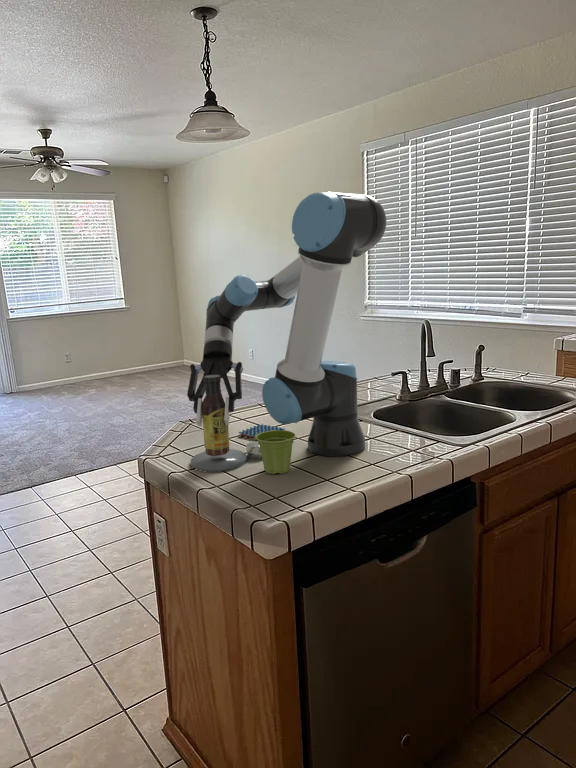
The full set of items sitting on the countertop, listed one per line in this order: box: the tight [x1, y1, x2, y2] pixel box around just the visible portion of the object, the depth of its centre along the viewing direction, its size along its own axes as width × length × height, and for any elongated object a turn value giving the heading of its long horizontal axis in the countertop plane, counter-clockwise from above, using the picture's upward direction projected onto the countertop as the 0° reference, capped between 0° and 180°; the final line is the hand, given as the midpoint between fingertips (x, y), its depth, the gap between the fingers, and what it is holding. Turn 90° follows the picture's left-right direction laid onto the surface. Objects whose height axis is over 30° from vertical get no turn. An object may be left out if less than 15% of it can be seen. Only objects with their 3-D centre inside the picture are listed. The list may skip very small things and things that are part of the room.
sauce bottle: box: [202, 375, 230, 456], centre depth 141 cm, size 7×6×20 cm
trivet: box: [190, 448, 247, 473], centre depth 143 cm, size 14×14×1 cm
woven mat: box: [238, 423, 285, 441], centre depth 164 cm, size 10×11×2 cm
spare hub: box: [245, 440, 262, 460], centre depth 147 cm, size 6×6×3 cm
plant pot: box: [255, 429, 296, 475], centre depth 135 cm, size 9×9×9 cm
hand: (212, 423), depth 137 cm, fingers closed on sauce bottle, 6 cm apart
